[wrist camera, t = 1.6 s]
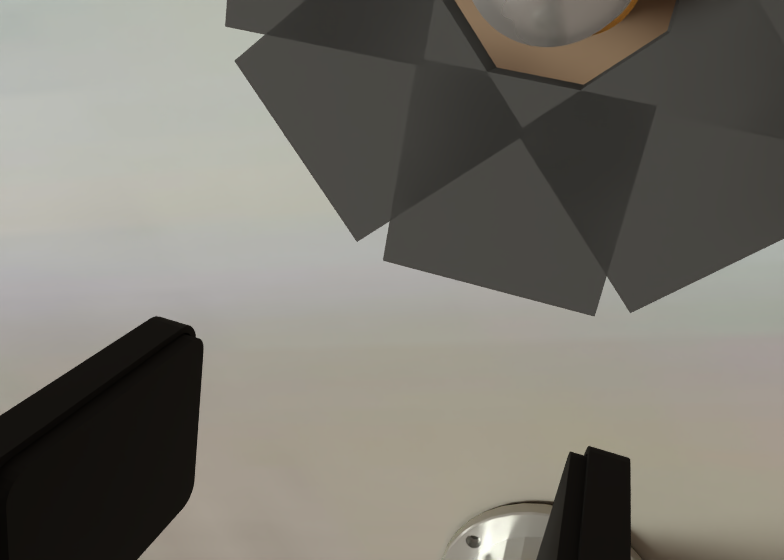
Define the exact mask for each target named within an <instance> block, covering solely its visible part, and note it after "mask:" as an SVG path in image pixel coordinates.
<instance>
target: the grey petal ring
mask: <svg viewBox="0 0 784 560" xmlns="http://www.w3.org/2000/svg"><path fill="white" fill-rule="evenodd" d="M225 26H226V27H231V28H235V29H240V30H245V31H250V32H255V33H260V34H265V35H264V36H263V37H262V38H261V39H259V40H258V41H257V42H256V43H255V44H254V45H252V46H251V47H250V48H249V49H248V50H247V51H245V52H244V53H243V54H242V55H241V56H240V57H238V58H237V59H236V60H235V62H236V64H237V65H238V67H239V68H240V70H241V71H242V73H243V74H244V76H245V77H246V79H247V80H248V82H249V83H250V84H251V86H252V87H253V89H254V90H255V92H256V93H257V95H258V96H259V98H260V99H261V101H262V102H263V104H264V105H265V107H266V108H267V110H268V111H269V113H270V114H271V116H272V117H273V118H274V120H275V121H276V123H277V124H278V126H279V127H280V129H281V130H282V132H283V133H284V135H285V136H286V138H287V139H288V141H289V142H290V144H291V145H292V147H293V148H294V150H295V151H296V152H297V154H298V155H299V157H300V158H301V160H302V161H303V163H304V164H305V166H306V167H307V169H308V170H309V172H310V173H311V175H312V176H313V178H314V179H315V181H316V182H317V184H318V185H319V186H320V188H321V189H322V191H323V192H324V194H325V195H326V197H327V198H328V200H329V201H330V203H331V204H332V206H333V207H334V209H335V210H336V212H337V213H338V215H339V216H340V217H341V219H342V220H343V222H344V223H345V225H346V226H347V228H348V229H349V231H350V232H351V234H352V235H353V237H354V238H355V240H356V241H357V242H358V241H359V240H361V239H362V238H364V237H365V236H367V235H369V234H370V233H372V232H373V231H375V230H376V229H378V228H380V227H381V226H383V225H384V224H386V223H387V222H389V221H390V222H389V228H388V234H387V240H386V246H385V252H384V258H383V261H387V262H390V263H394V264H398V265H402V266H406V267H409V268H413V269H417V270H421V271H425V272H428V273H432V274H436V275H440V276H443V277H447V278H451V279H455V280H459V281H462V282H466V283H470V284H474V285H478V286H481V287H485V288H489V289H493V290H496V291H500V292H504V293H508V294H512V295H515V296H519V297H523V298H527V299H531V300H534V301H538V302H542V303H546V304H549V305H553V306H557V307H561V308H565V309H568V310H572V311H576V312H580V313H584V314H587V315H591V316H595V313H596V310H597V307H598V303H599V300H600V296H601V293H602V290H603V286H604V283H605V280H606V276H607V277H608V279H609V280H610V282H611V283H612V285H613V286H614V288H615V290H616V291H617V293H618V294H619V296H620V298H621V299H622V301H623V302H624V304H625V305H626V307H627V309H628V310H629V312H630V313H631V312H634V311H636V310H638V309H640V308H642V307H644V306H646V305H648V304H650V303H652V302H654V301H656V300H658V299H660V298H662V297H664V296H667V295H669V294H671V293H673V292H675V291H677V290H679V289H681V288H683V287H685V286H687V285H689V284H691V283H693V282H695V281H697V280H700V279H702V278H704V277H706V276H708V275H710V274H712V273H714V272H716V271H718V270H720V269H722V268H724V267H726V266H728V265H730V264H733V263H735V262H737V261H739V260H741V259H743V258H745V257H747V256H749V255H751V254H753V253H755V252H757V251H759V250H761V249H763V248H766V247H768V246H770V245H772V244H774V243H776V242H778V241H780V240H782V239H784V0H676V2H675V6H674V9H673V13H672V16H671V19H670V23H669V26H668V30H667V31H666V32H665V33H663V34H661V35H660V36H658V37H657V38H655V39H654V40H652V41H651V42H649V43H647V44H646V45H644V46H643V47H641V48H640V49H638V50H637V51H635V52H634V53H632V54H630V55H629V56H627V57H626V58H624V59H623V60H621V61H620V62H618V63H616V64H615V65H613V66H612V67H610V68H609V69H607V70H606V71H604V72H603V73H601V74H599V75H598V76H596V77H595V78H593V79H592V80H590V81H589V82H587V83H586V84H584V85H583V84H578V83H573V82H568V81H563V80H558V79H553V78H547V77H542V76H537V75H532V74H527V73H522V72H517V71H512V70H507V69H502V68H497V67H496V65H495V64H494V62H493V61H492V59H491V57H490V56H489V54H488V53H487V51H486V49H485V48H484V46H483V45H482V43H481V41H480V40H479V38H478V37H477V35H476V33H475V32H474V30H473V29H472V27H471V25H470V24H469V22H468V21H467V19H466V17H465V16H464V14H463V13H462V11H461V9H460V8H459V6H458V5H457V3H456V2H455V0H227V9H226V23H225Z"/></svg>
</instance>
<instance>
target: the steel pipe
mask: <svg viewBox="0 0 784 560" xmlns="http://www.w3.org/2000/svg"><path fill="white" fill-rule="evenodd" d="M472 1H473V3H474V5H475V6H476V8H477V10H478V11H479V12H480V14H481V15H482V17H483V18H484V19H485V20H486V21H487V22H488V23H489V24H490V25H491V26H492V27H493V28H494V29H496V30H497V31H498V32H499V33H501V34H503V35H504V36H506V37H508V38H509V39H512V40H514V41H517V42H519V43H522V44H526V45H530V46H537V47H557V46H564V45H568V44H572V43H575V42H578V41H581V40H583V39H585V38H588V37H590V36H593V35H596V34H600V33H602V32H604V31H607V30H609V29H610V28H612V27H614V26H615V25H617V24H618V23H619V22H621V21H622V20H623V19H624V18H625V17H626V16H627V15H628V14H629V13H630V11H631V10H632V9H633V7H634V6H635V4H636V3H637V1H638V0H472Z"/></svg>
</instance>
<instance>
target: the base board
mask: <svg viewBox="0 0 784 560" xmlns="http://www.w3.org/2000/svg"><path fill="white" fill-rule="evenodd" d="M455 2H456V3H457V5H458V6H459V8H460V9H461V11H462V13H463V14H464V16H465V17H466V19H467V21H468V22H469V24H470V25H471V27H472V29H473V30H474V32H475V33H476V35H477V37H478V38H479V40H480V41H481V43H482V45H483V46H484V48H485V49H486V51H487V53H488V54H489V56H490V57H491V59H492V61H493V62H494V64H495V65H496V67H497V68H502V69H507V70H512V71H517V72H522V73H527V74H532V75H537V76H542V77H547V78H553V79H558V80H563V81H568V82H573V83H578V84H583V85H584V84H586V83H587V82H589V81H590V80H592V79H593V78H595V77H596V76H598V75H599V74H601V73H603V72H604V71H606V70H607V69H609V68H610V67H612V66H613V65H615V64H616V63H618V62H620V61H621V60H623V59H624V58H626V57H627V56H629V55H630V54H632V53H634V52H635V51H637V50H638V49H640V48H641V47H643V46H644V45H646V44H647V43H649V42H651V41H652V40H654V39H655V38H657V37H658V36H660V35H661V34H663V33H665V32H666V31H667V30H668V26H669V23H670V19H671V16H672V13H673V9H674V6H675V2H676V0H638V1H637V3H636V4H635V6H634V7H633V9H632V10H631V11H630V13H629V14H628V15H627V16H626V17H625V18H624V19H623V20H622V21H621V22H619V23H618V24H617V25H615V26H614V27H612V28H610V29H609V30H607V31H604V32H602V33H600V34H596V35H593V36H590V37H588V38H585V39H583V40H581V41H578V42H575V43H572V44H568V45H564V46H557V47H537V46H530V45H526V44H522V43H519V42H517V41H514V40H512V39H509V38H508V37H506V36H504V35H503V34H501V33H499V32H498V31H497V30H496V29H494V28H493V27H492V26H491V25H490V24H489V23H488V22H487V21H486V20H485V19H484V18H483V17H482V15H481V14H480V12H479V11H478V10H477V8H476V6H475V5H474V3H473V1H472V0H455Z"/></svg>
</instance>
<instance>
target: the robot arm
mask: <svg viewBox="0 0 784 560" xmlns="http://www.w3.org/2000/svg"><path fill="white" fill-rule="evenodd" d="M202 364H203V342H202V340H201V339H199V338H196V334H195V331H194V329H193V328H192V327H191V326H189V325H185V324H182V323H179V322H175V321H172V320H169V319H165V318H162V317H157V316H155V317H153V318H151V319H149V320H147V321H146V322H144V323H143V324H141V325H140V326H138V327H137V328H135V329H134V330H132V331H130V332H129V333H127V334H126V335H124V336H123V337H121V338H120V339H118V340H117V341H115V342H113V343H112V344H110V345H109V346H107V347H106V348H104V349H103V350H101V351H100V352H98V353H96V354H95V355H93V356H92V357H90V358H89V359H87V360H86V361H84V362H83V363H81V364H79V365H78V366H76V367H75V368H73V369H72V370H70V371H69V372H67V373H66V374H64V375H62V376H61V377H59V378H58V379H56V380H55V381H53V382H52V383H50V384H48V385H47V386H45V387H44V388H42V389H41V390H39V391H38V392H36V393H35V394H33V395H31V396H30V397H28V398H27V399H25V400H24V401H22V402H21V403H19V404H18V405H16V406H14V407H13V408H11V409H10V410H8V411H7V412H5V413H4V414H2V415H1V416H0V560H137V559H138V558H139V557H140V556H141V555H142V553H143V552H144V551H145V550H146V549H147V548H148V547H149V546H150V545H151V543H152V542H153V541H154V540H155V539H156V538H157V537H158V536H159V534H160V533H161V532H162V531H163V530H164V529H165V528H166V527H167V525H168V524H169V523H170V522H171V521H172V520H173V519H174V518H175V517H176V515H177V514H178V513H179V512H180V511H181V510H182V509H183V507H184V506H185V505H186V503H187V502H188V500H189V498H190V495H191V493H192V490H193V487H194V479H195V464H196V450H197V435H198V421H199V407H200V392H201V378H202ZM442 560H642V559H641V558H640V556H639V555H638V554H637V553H636V552H635V551H634V549H633V548H632V547H631V485H630V459H629V458H627V457H624V456H621V455H617V454H614V453H611V452H607V451H604V450H601V449H597V448H594V447H591V446H588V447H587V449H586V452H585V454H584V456H583V455H580V454H577V453H573V452H570V453H569V455H568V458H567V461H566V464H565V467H564V471H563V474H562V477H561V480H560V484H559V487H558V490H557V493H556V497H555V500H554V503H553V506H552V505H547V504H530V503H521V504H514V505H506V506H501V507H498V508H495V509H492V510H488V511H485V512H483V513H482V514H480V515H478V516H476V517H474V518H473V519H471V520H469V521H468V522H467V523H466V524H465V525H464V526H462V527H461V528H460V529H459V530H458V531H457V532H456V533H455V535H454V536H453V538H452V539H451V541H450V542H449V543H448V545H447V548H446V551H445V553H444V556H443V558H442Z"/></svg>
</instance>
